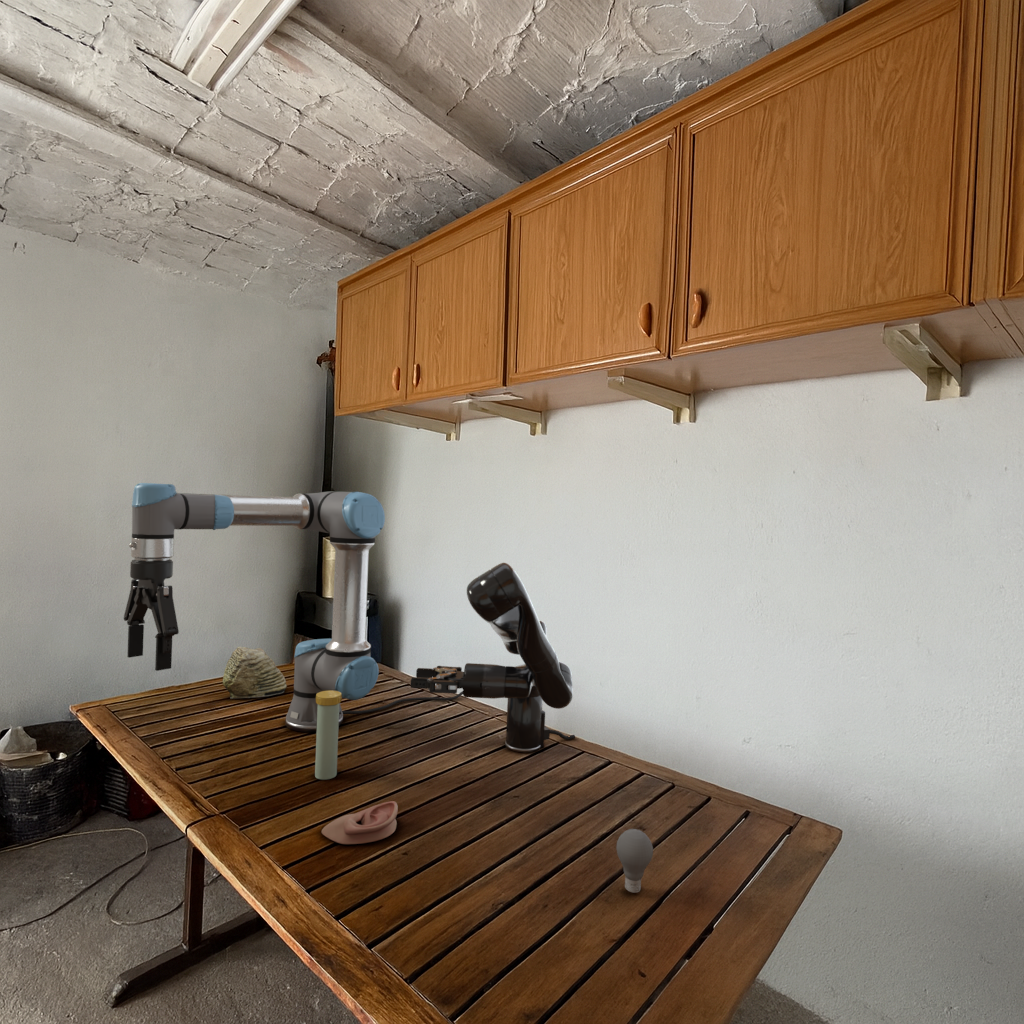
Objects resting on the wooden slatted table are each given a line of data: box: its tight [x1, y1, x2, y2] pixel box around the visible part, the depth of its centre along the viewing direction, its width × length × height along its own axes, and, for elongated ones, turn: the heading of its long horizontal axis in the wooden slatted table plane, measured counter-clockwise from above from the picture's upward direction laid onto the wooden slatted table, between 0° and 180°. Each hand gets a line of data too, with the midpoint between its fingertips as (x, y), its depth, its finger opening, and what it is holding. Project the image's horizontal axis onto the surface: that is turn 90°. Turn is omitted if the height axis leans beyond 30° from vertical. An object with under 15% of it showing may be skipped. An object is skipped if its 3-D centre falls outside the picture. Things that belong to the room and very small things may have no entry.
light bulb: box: [615, 828, 654, 894], centre depth 106 cm, size 6×6×10 cm
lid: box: [316, 690, 343, 706], centre depth 144 cm, size 6×6×2 cm
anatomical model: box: [321, 800, 399, 845], centre depth 121 cm, size 13×4×12 cm
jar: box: [314, 704, 340, 781], centre depth 144 cm, size 5×5×18 cm
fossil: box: [222, 646, 288, 699], centre depth 198 cm, size 9×18×15 cm, turn 132°
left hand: (148, 662), depth 129 cm, fingers open, 13 cm apart
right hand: (413, 677), depth 144 cm, fingers open, 8 cm apart
